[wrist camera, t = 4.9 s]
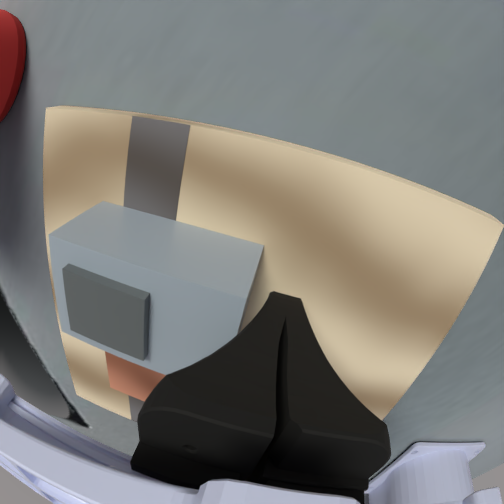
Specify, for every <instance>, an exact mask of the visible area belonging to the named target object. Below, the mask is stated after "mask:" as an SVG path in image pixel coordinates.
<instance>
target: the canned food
mask: <svg viewBox="0 0 504 504" xmlns="http://www.w3.org/2000/svg"><path fill="white" fill-rule="evenodd" d="M25 57H26V40H25V32H24V29H23V26H22V24H21V22H20V21H19V19H18V18H17V17H15V16H14V15H12V14H11V13H9V12H7V11H5V10H1V9H0V122H1V121H2V120H3V119H4V117H5V116H6V115H7V113H8V112H9V110H10V108H11V106H12V104H13V102H14V100H15V97H16V95H17V93H18V90H19V86H20V83H21V80H22V75H23V71H24V65H25Z"/></svg>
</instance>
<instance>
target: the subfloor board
mask: <svg viewBox="0 0 504 504" xmlns="http://www.w3.org/2000/svg"><path fill="white" fill-rule="evenodd" d="M43 195H44V217H45V232H46V243H47V253H48V262H49V270H50V277H51V284H52V290H53V297H54V302H55V308H56V313H57V318H58V323H59V328H60V333H61V337H62V342H63V346H64V350H65V354H66V358H67V362H68V366H69V370H70V373H71V377H72V380H73V384H74V387H75V390H76V394H77V395H78V396H80V397H82V398H84V399H86V400H88V401H90V402H92V403H95V404H97V405H99V406H101V407H103V408H105V409H108V410H110V411H112V412H114V413H117V414H119V415H121V416H124V417H126V418H128V419H131V420H133V421H135V422H137V419H138V414H139V412H140V410H141V408H142V406H143V404H144V402H145V400H146V399H147V397H148V396H149V394H150V393H151V392H152V390H153V389H154V388H155V387H156V385H157V384H158V383H159V382H160V381H161V380H162V379H163V378H164V377H165V376H166V375H164V374H161V373H159V372H156V371H153V370H151V369H148V368H145V367H143V366H140V365H138V364H135V363H132V362H130V361H127V360H125V359H123V358H120V357H118V356H115V355H113V354H111V353H108V352H106V351H104V350H101V349H99V348H97V347H94V346H92V345H90V344H88V343H86V342H83V341H81V340H79V339H77V338H75V337H73V336H71V335H69V334H67V333H65V332H62V330H61V324H60V319H59V314H58V308H57V302H56V296H55V289H54V282H53V274H52V266H51V257H50V247H49V234H50V233H51V232H53V231H55V230H56V229H58V228H59V227H61V226H62V225H64V224H66V223H67V222H69V221H70V220H72V219H74V218H75V217H77V216H78V215H80V214H82V213H83V212H85V211H87V210H88V209H90V208H92V207H93V206H95V205H97V204H99V203H100V202H102V201H105V202H109V203H112V204H116V205H120V206H124V207H127V208H131V209H135V210H138V211H142V212H146V213H149V214H153V215H157V216H160V217H164V218H168V219H171V220H175V221H179V222H182V223H186V224H189V225H193V226H197V227H200V228H204V229H207V230H211V231H215V232H218V233H222V234H225V235H229V236H233V237H236V238H240V239H243V240H247V241H251V242H254V243H258V244H261V245H264V247H263V251H262V255H261V258H260V262H259V266H258V269H257V273H256V276H255V280H254V284H253V287H252V291H251V295H250V298H249V302H248V305H247V309H246V313H245V316H244V320H243V324H242V327H241V331H242V330H243V329H244V328H245V327H246V326H247V325H248V324H249V323H250V322H251V321H252V319H253V318H254V317H255V316H256V315H257V313H258V312H259V311H260V310H261V308H262V307H263V305H264V304H265V302H266V300H267V299H268V296H269V293H270V292H272V291H275V292H279V293H282V294H286V295H290V296H294V297H297V298H301V300H302V302H303V305H304V308H305V311H306V314H307V317H308V320H309V322H310V325H311V327H312V330H313V332H314V334H315V336H316V339H317V341H318V343H319V345H320V347H321V349H322V351H323V353H324V354H325V356H326V358H327V360H328V361H329V363H330V364H331V366H332V367H333V369H334V371H335V372H336V373H337V375H338V376H339V377H340V379H341V380H342V381H343V382H344V384H345V385H346V386H347V387H348V389H349V390H350V391H351V392H352V393H353V394H354V395H355V396H356V398H357V399H358V400H359V401H360V402H361V403H362V404H363V405H364V406H365V407H366V408H367V409H369V410H370V411H371V412H372V413H373V414H374V415H376V416H377V417H378V418H379V419H380V420H383V419H384V417H385V416H386V415H387V414H388V413H389V412H390V410H391V409H392V408H393V407H394V406H395V404H396V403H397V402H398V401H399V399H400V398H401V397H402V396H403V394H404V393H405V392H406V391H407V389H408V388H409V387H410V385H411V384H412V383H413V382H414V380H415V379H416V378H417V376H418V375H419V374H420V372H421V371H422V369H423V368H424V367H425V365H426V364H427V362H428V361H429V360H430V358H431V357H432V355H433V354H434V352H435V351H436V350H437V348H438V347H439V345H440V344H441V342H442V341H443V339H444V337H445V336H446V334H447V333H448V331H449V330H450V328H451V327H452V325H453V323H454V322H455V320H456V318H457V317H458V315H459V313H460V312H461V310H462V308H463V307H464V305H465V303H466V301H467V300H468V298H469V296H470V294H471V293H472V291H473V289H474V287H475V285H476V283H477V281H478V280H479V278H480V276H481V274H482V272H483V270H484V268H485V266H486V264H487V262H488V260H489V258H490V256H491V254H492V251H493V249H494V247H495V245H496V243H497V241H498V238H499V236H500V234H501V231H502V229H503V227H504V225H503V224H502V223H501V222H500V221H498V220H497V219H496V218H494V217H493V216H492V215H490V214H488V213H486V212H484V211H482V210H479V209H477V208H475V207H473V206H470V205H468V204H466V203H464V202H461V201H459V200H457V199H454V198H452V197H450V196H447V195H445V194H442V193H440V192H437V191H435V190H433V189H430V188H427V187H425V186H422V185H420V184H417V183H415V182H412V181H409V180H407V179H404V178H401V177H398V176H396V175H393V174H390V173H387V172H384V171H382V170H379V169H376V168H373V167H370V166H367V165H364V164H361V163H358V162H355V161H351V160H348V159H345V158H342V157H339V156H335V155H332V154H329V153H325V152H322V151H318V150H315V149H311V148H308V147H304V146H300V145H297V144H293V143H289V142H285V141H281V140H277V139H273V138H269V137H265V136H261V135H257V134H253V133H248V132H244V131H239V130H235V129H230V128H225V127H220V126H215V125H210V124H205V123H200V122H194V121H188V120H183V119H177V118H171V117H164V116H158V115H151V114H144V113H136V112H128V111H120V110H111V109H101V108H90V107H77V106H56V107H49V108H46V115H45V129H44V151H43ZM241 331H240V332H241Z"/></svg>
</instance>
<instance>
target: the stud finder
mask: <svg viewBox="0 0 504 504" xmlns="http://www.w3.org/2000/svg"><path fill="white" fill-rule="evenodd" d="M49 247H50V257H51V266H52V274H53V282H54V289H55V296H56V302H57V308H58V314H59V319H60V324H61V330H62V332H65V333H67V334H69V335H71V336H73V337H75V338H77V339H79V340H81V341H83V342H86V343H88V344H90V345H92V346H94V347H97V348H99V349H101V350H104V351H106V352H108V353H111V354H113V355H115V356H118V357H120V358H123V359H125V360H127V361H130V362H132V363H135V364H138V365H140V366H143V367H145V368H148V369H151V370H153V371H156V372H159V373H161V374H164V375H167V374H170V373H173V372H175V371H178V370H180V369H183V368H185V367H188V366H190V365H192V364H194V363H196V362H198V361H199V360H201V359H203V358H205V357H207V356H209V355H210V354H212V353H214V352H215V351H217V350H218V349H219V348H221V347H222V346H224V345H225V344H227V343H228V342H229V341H230V340H232V339H233V338H234V337H235V336H236V335H237V334H239V333H240V331H241V327H242V324H243V320H244V316H245V313H246V309H247V305H248V302H249V298H250V295H251V291H252V287H253V284H254V280H255V276H256V273H257V269H258V266H259V262H260V258H261V255H262V251H263V247H264V245H261V244H258V243H254V242H251V241H247V240H243V239H240V238H236V237H233V236H229V235H225V234H222V233H218V232H215V231H211V230H207V229H204V228H200V227H197V226H193V225H189V224H186V223H182V222H179V221H175V220H171V219H168V218H164V217H160V216H157V215H153V214H149V213H146V212H142V211H138V210H135V209H131V208H127V207H124V206H120V205H116V204H112V203H109V202H105V201H102V202H100V203H99V204H97V205H95V206H93V207H92V208H90V209H88V210H87V211H85V212H83V213H82V214H80V215H78V216H77V217H75V218H74V219H72V220H70V221H69V222H67V223H66V224H64V225H62V226H61V227H59V228H58V229H56V230H55V231H53V232H51V233H50V234H49Z"/></svg>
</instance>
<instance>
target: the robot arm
mask: <svg viewBox="0 0 504 504" xmlns="http://www.w3.org/2000/svg"><path fill="white" fill-rule="evenodd" d="M137 423H138V431H139V439H140V441H139V444H138V446H137V448H136V450H135V452H134V454H133V456H130V455H127V454H125V453H122V452H120V451H118V450H116V449H113V448H111V447H109V446H107V445H105V444H102V443H100V442H98V441H96V440H94V439H92V438H90V437H88V436H86V435H84V434H82V433H80V432H78V431H76V430H74V429H72V428H71V427H69V426H67V425H65V424H63V423H61V422H60V421H58V420H56V419H54V418H53V417H51V416H49V415H48V414H46V413H44V412H43V411H41V410H39V409H37V408H36V407H34V406H33V405H31V404H30V403H28V402H27V401H25V400H24V399H22V398H20V397H19V396H17V395H16V394H15V391H14V389H13V386H12V385H11V383H10V382H9V381H8V380H7V379H6V377H4V376H3V375H2V374H0V466H2V467H3V468H4V469H5V470H7V471H8V472H9V473H11V474H12V475H13V476H15V477H16V478H18V479H19V480H20V481H22V482H23V483H24V484H26V485H27V486H29V487H30V488H31V489H33V490H34V491H35V492H37V493H38V494H40V495H41V496H43V497H44V498H46V499H47V500H49V501H51V502H52V503H54V504H364V493H366V494H369V504H502V500H501V495H500V490H499V487H493V488H488V489H483V490H479V491H476V492H474V489H473V484H472V478H471V473H470V469H469V464H468V462H469V461H470V460H471V459H472V458H474V457H475V456H476V455H477V454H478V453H480V452H481V451H482V450H483V449H484V448H485V447H486V445H485V443H484V442H476V443H432V442H418V443H415V444H413V445H412V446H411V447H410V448H409V449H408V450H407V451H406V452H404V453H403V454H402V455H401V456H400V457H399V458H398V459H397V460H395V461H394V462H393V463H392V464H391V465H390V466H388V467H387V468H386V469H385V470H384V471H382V472H381V473H380V474H379V475H377V476H376V477H375V478H374V479H372V480H371V481H370V482H369V479H368V478H369V477H371V476H372V475H373V474H374V473H375V472H377V471H378V470H379V469H380V468H381V467H383V466H384V465H385V464H386V462H387V461H388V460H389V459H390V456H391V448H390V439H389V434H388V429H387V425H386V424H385V423H384V422H383V421H382V420H380V419H379V418H378V417H377V416H376V415H374V414H373V413H372V412H371V411H370V410H369V409H367V408H366V407H365V406H364V405H363V404H362V403H361V402H360V401H359V400H358V399H357V398H356V396H355V395H354V394H353V393H352V392H351V391H350V390H349V389H348V387H347V386H346V385H345V384H344V382H343V381H342V380H341V379H340V377H339V376H338V375H337V373H336V372H335V371H334V369H333V367H332V366H331V364H330V363H329V361H328V360H327V358H326V356H325V354H324V353H323V351H322V349H321V347H320V345H319V343H318V341H317V339H316V336H315V334H314V332H313V330H312V327H311V325H310V322H309V320H308V317H307V314H306V311H305V308H304V305H303V302H302V300H301V298H297V297H294V296H290V295H286V294H282V293H279V292H275V291H272V292H270V293H269V296H268V299H267V300H266V302H265V304H264V305H263V307H262V308H261V310H260V311H259V312H258V313H257V315H256V316H255V317H254V318H253V319H252V321H251V322H250V323H249V324H248V325H247V326H246V327H245V328H244V329H243V330H242V331H241V332H240V333H239V334H237V335H236V336H235V337H234V338H233V339H232V340H230V341H229V342H228V343H227V344H225V345H224V346H222V347H221V348H219V349H218V350H217V351H215V352H214V353H212V354H210V355H209V356H207V357H205V358H203V359H201V360H199V361H198V362H196V363H194V364H192V365H190V366H188V367H185V368H183V369H180V370H178V371H175V372H173V373H170V374H167V375H166V376H165V377H164V378H163V379H162V380H161V381H160V382H159V383H158V384H157V385H156V387H155V388H154V389H153V390H152V392H151V393H150V394H149V396H148V397H147V399H146V400H145V402H144V404H143V406H142V408H141V410H140V412H139V414H138V419H137Z"/></svg>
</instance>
